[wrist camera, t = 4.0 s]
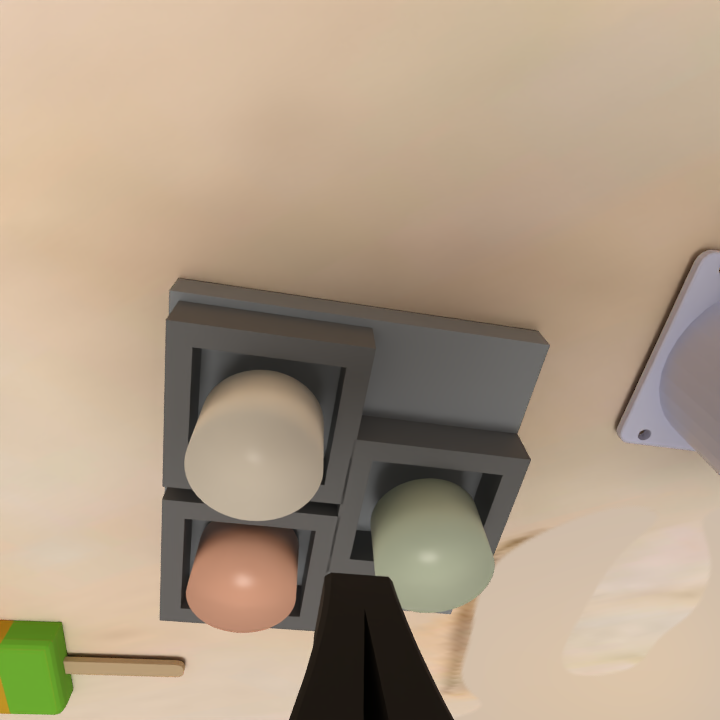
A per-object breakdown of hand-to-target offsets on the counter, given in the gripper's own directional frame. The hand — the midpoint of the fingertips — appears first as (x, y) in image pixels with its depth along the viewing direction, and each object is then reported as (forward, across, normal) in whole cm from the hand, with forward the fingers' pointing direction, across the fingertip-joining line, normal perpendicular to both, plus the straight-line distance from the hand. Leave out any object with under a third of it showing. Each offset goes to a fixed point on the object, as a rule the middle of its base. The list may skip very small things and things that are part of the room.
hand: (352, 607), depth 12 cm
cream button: (+7, +3, +1) cm, 8 cm away
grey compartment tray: (+10, 0, +4) cm, 11 cm away
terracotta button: (+9, +3, +8) cm, 12 cm away
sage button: (+7, -4, +4) cm, 9 cm away
